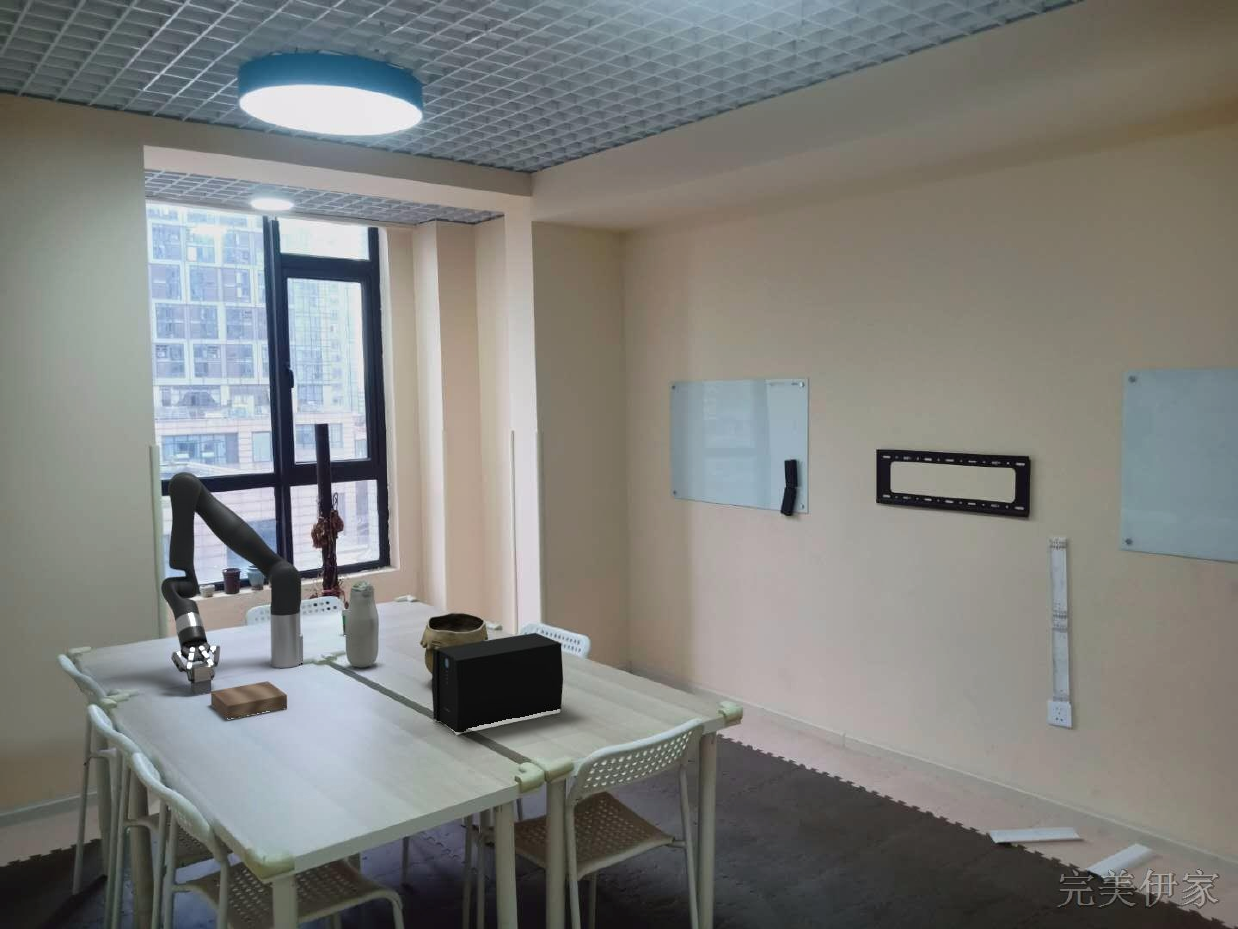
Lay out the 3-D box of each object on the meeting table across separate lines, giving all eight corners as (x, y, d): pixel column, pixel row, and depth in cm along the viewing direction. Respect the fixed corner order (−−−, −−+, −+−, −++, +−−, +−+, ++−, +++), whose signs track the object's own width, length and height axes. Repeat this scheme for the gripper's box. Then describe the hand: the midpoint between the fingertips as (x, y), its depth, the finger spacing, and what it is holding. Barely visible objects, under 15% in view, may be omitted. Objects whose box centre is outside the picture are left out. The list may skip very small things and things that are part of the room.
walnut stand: (268, 694, 280) (268, 681, 280) (287, 708, 268) (286, 695, 268) (211, 705, 270) (211, 691, 270) (228, 720, 258) (227, 706, 258)
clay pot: (500, 686, 291) (500, 621, 289) (434, 697, 280) (434, 630, 278) (474, 669, 308) (474, 608, 307) (411, 678, 298) (410, 615, 296)
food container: (357, 638, 346) (356, 611, 345) (341, 637, 347) (341, 610, 347) (372, 630, 358) (372, 603, 357) (357, 629, 359) (357, 603, 359)
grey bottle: (340, 669, 307) (339, 583, 305) (359, 661, 317) (359, 577, 315) (365, 672, 303) (364, 585, 301) (384, 664, 313) (384, 580, 311)
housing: (207, 689, 285) (206, 662, 285) (211, 692, 282) (210, 666, 281) (190, 691, 282) (190, 665, 282) (195, 695, 279) (194, 668, 278)
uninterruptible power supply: (431, 719, 260) (431, 647, 259) (538, 698, 280) (538, 631, 279) (458, 737, 247) (458, 661, 246) (567, 713, 267) (568, 643, 265)
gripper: (167, 628, 282) (178, 677, 273) (217, 621, 291) (230, 669, 282) (163, 642, 287) (174, 691, 278) (213, 635, 295) (225, 682, 287)
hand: (202, 680), depth 280 cm, fingers closed on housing, 4 cm apart
